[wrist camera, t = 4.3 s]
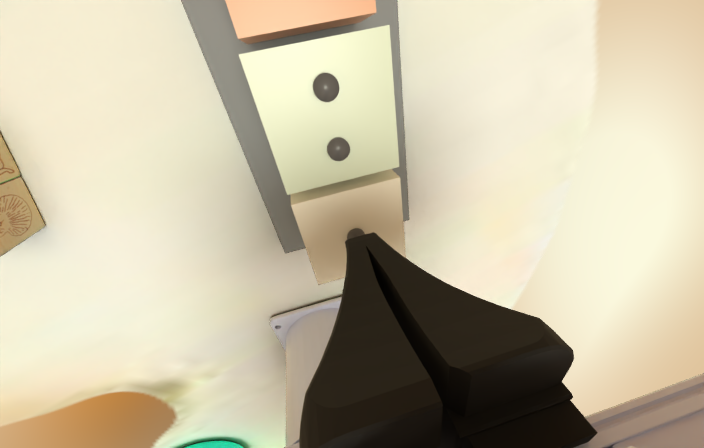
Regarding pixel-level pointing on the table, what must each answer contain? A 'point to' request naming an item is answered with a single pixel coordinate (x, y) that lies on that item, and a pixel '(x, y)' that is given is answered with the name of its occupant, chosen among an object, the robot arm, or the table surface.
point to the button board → (230, 79)
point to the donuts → (215, 445)
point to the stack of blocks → (15, 205)
